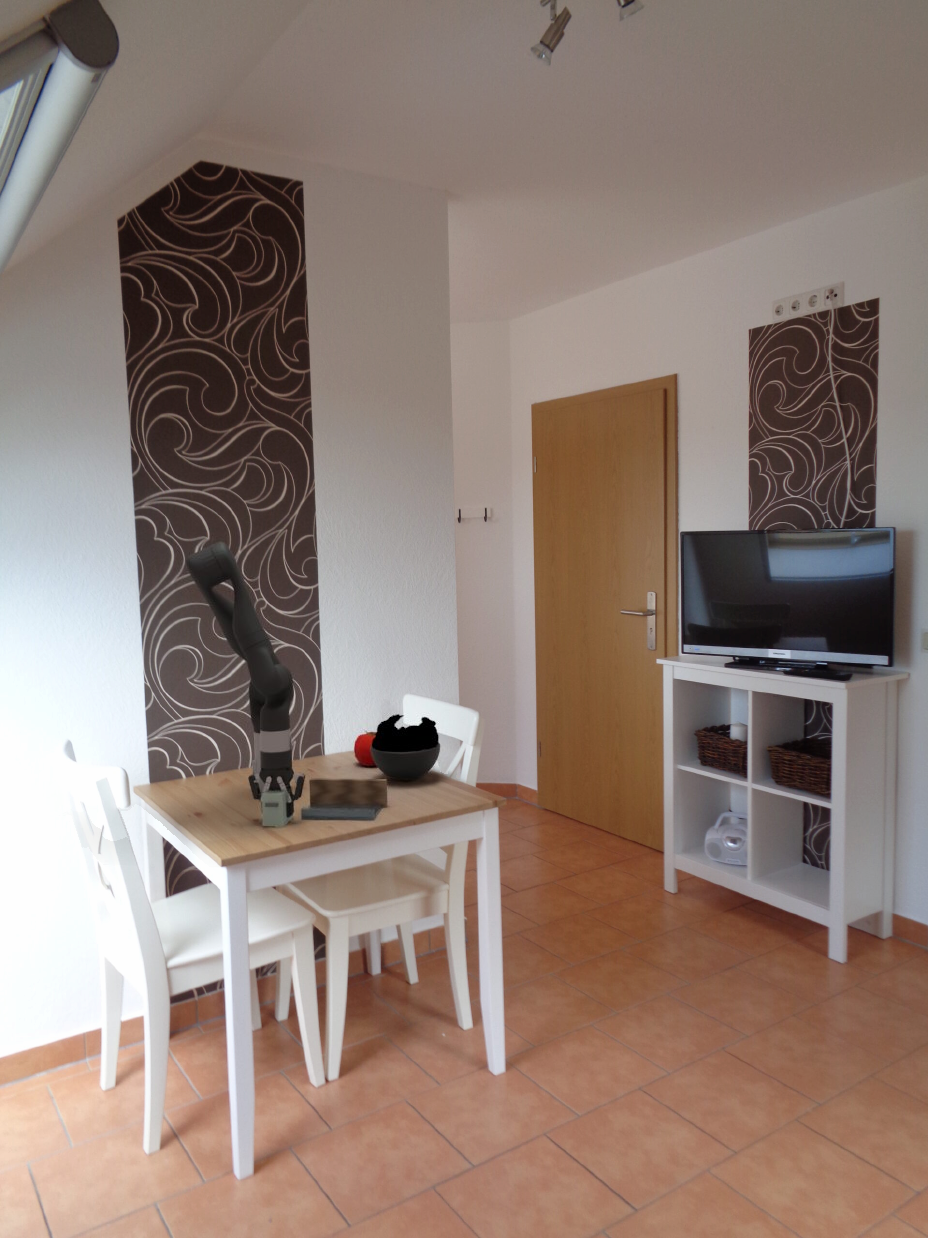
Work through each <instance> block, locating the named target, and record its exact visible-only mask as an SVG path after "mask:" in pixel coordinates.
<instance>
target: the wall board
mask: <svg viewBox="0 0 928 1238" xmlns="http://www.w3.org/2000/svg"><path fill="white" fill-rule="evenodd" d="M308 781H309V784H308V786H309V808H310V807H311V806H312V805H313V804H382V807H383V808H385V809H387V807H388V779H387V778H384V779H383V778H319V777H318V778H312V777H311V778H310V779H309V780H308ZM383 808H382V809H383Z"/></svg>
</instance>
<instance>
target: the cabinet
mask: <svg viewBox="0 0 928 1238" xmlns="http://www.w3.org/2000/svg"><path fill="white" fill-rule="evenodd" d="M291 788H292V789H293V786H292V785H291ZM286 803H287V800H286V794H285V792H282V790H278V789H273V790H269V791H268V792H264V793H262V808H261V815H262V817H261V818H262V827H263V826H277V827H276V828H284V827H285V826H286V825H287V824H288V823H289V822H290V821H291V820H292V819H294V813H293V814H292V816H291V817H290V818H287V816H286ZM283 826H284V827H283Z"/></svg>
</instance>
